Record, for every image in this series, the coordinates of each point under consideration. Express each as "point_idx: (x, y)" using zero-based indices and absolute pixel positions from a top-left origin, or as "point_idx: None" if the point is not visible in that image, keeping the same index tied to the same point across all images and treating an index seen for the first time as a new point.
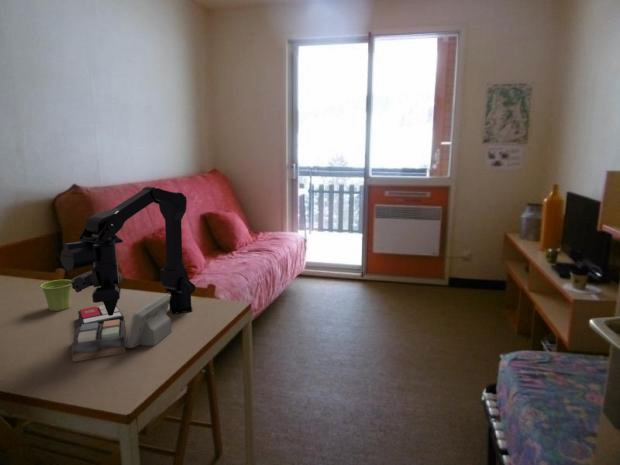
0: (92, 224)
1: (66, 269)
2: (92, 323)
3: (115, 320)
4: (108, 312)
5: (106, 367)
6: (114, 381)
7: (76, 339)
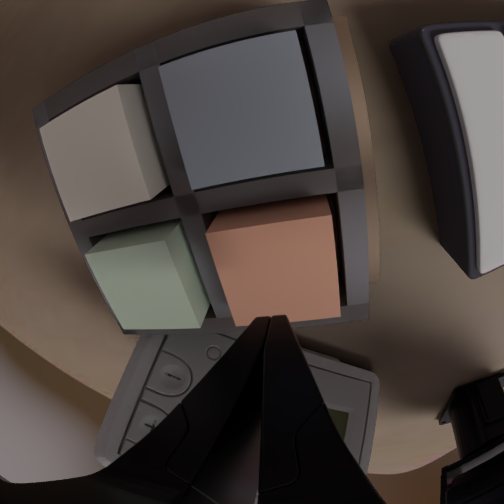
0: None
1: None
2: (305, 121)
3: (325, 296)
4: (240, 345)
5: (51, 248)
6: (16, 280)
7: (87, 91)
